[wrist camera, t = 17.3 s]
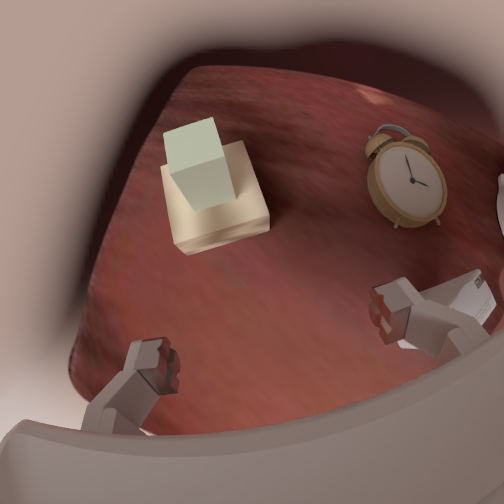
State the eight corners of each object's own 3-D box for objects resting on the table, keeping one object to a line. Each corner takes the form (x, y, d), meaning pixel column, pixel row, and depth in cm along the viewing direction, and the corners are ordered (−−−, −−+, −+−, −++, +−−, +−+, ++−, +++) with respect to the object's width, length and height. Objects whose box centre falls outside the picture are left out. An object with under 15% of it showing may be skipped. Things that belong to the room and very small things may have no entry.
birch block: (246, 163, 35) (242, 140, 30) (269, 231, 32) (269, 214, 27) (173, 186, 35) (160, 166, 30) (188, 256, 32) (174, 244, 27)
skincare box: (400, 349, 27) (462, 356, 15) (382, 319, 28) (440, 311, 16) (434, 317, 27) (500, 307, 16) (417, 288, 28) (480, 266, 17)
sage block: (225, 164, 29) (212, 117, 21) (236, 199, 28) (224, 156, 20) (186, 176, 29) (163, 133, 21) (194, 212, 28) (169, 174, 20)
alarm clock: (386, 227, 28) (360, 112, 29) (370, 233, 33) (350, 130, 34) (456, 222, 28) (428, 119, 29) (437, 228, 32) (414, 134, 34)
